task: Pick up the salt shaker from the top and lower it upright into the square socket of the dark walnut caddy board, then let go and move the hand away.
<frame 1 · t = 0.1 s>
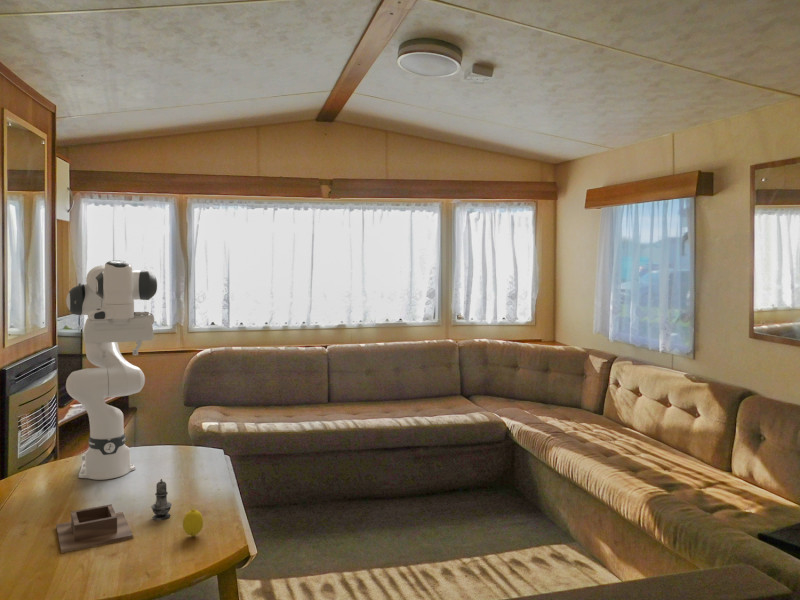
hand: (119, 355, 199), 48 cm above the table, tool pointing down, fingers open, 8 cm apart
caddy: (94, 532, 182), on the table
lemon: (193, 537, 181), on the table
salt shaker: (161, 517, 193), on the table
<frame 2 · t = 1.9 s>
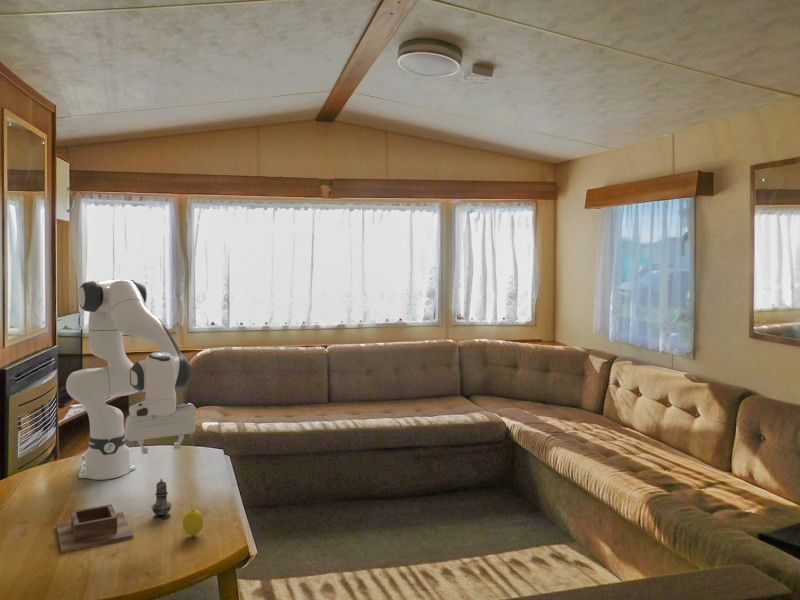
hand: (161, 450, 192), 21 cm above the table, tool pointing down, fingers open, 8 cm apart
nothing on the table moved.
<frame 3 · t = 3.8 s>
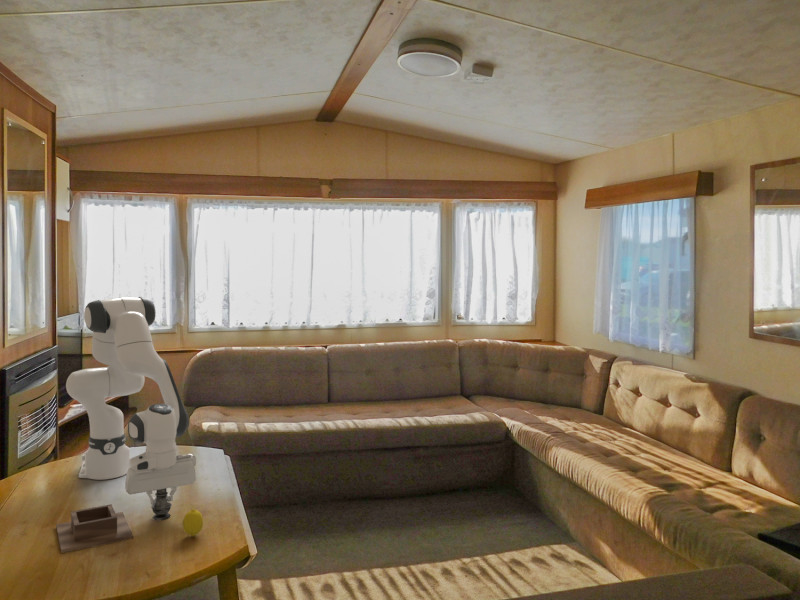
hand: (161, 502, 193), 5 cm above the table, tool pointing down, fingers closed on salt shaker, 3 cm apart
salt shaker: (161, 517, 193), on the table, touching gripper
everything else where it was.
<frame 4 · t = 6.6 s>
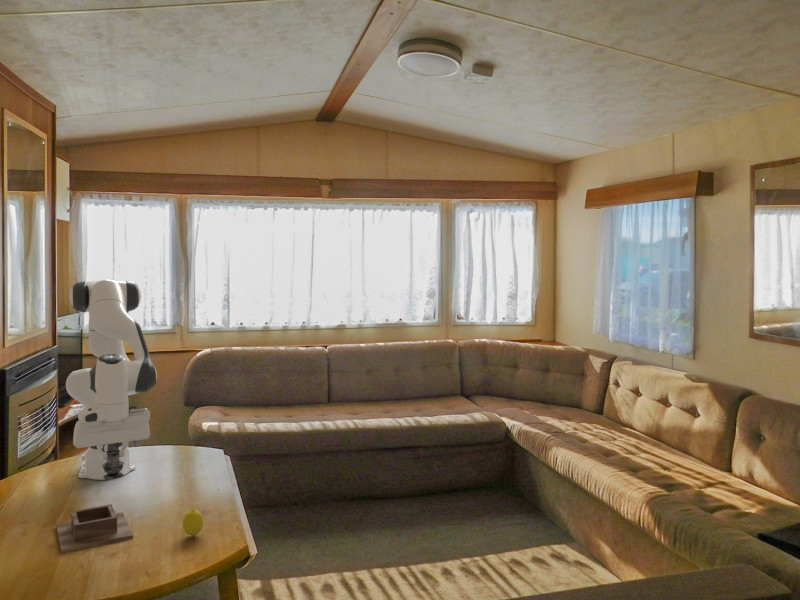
hand: (112, 457, 183), 21 cm above the table, tool pointing down, fingers closed on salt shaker, 3 cm apart
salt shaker: (113, 476, 183), point 16 cm above the table, touching gripper
everything else where it was.
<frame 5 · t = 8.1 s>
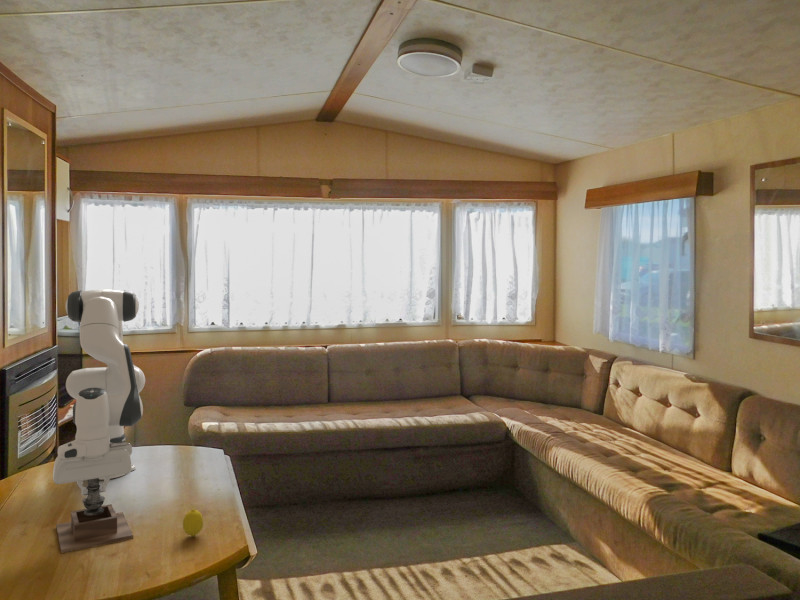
hand: (93, 493, 181), 12 cm above the table, tool pointing down, fingers closed on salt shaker, 3 cm apart
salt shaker: (93, 512, 181), point 6 cm above the table, touching gripper
everything else where it was.
when the fingers open (7 cm above the table, at t = 9.4 s): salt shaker stays where it is, resting on caddy.
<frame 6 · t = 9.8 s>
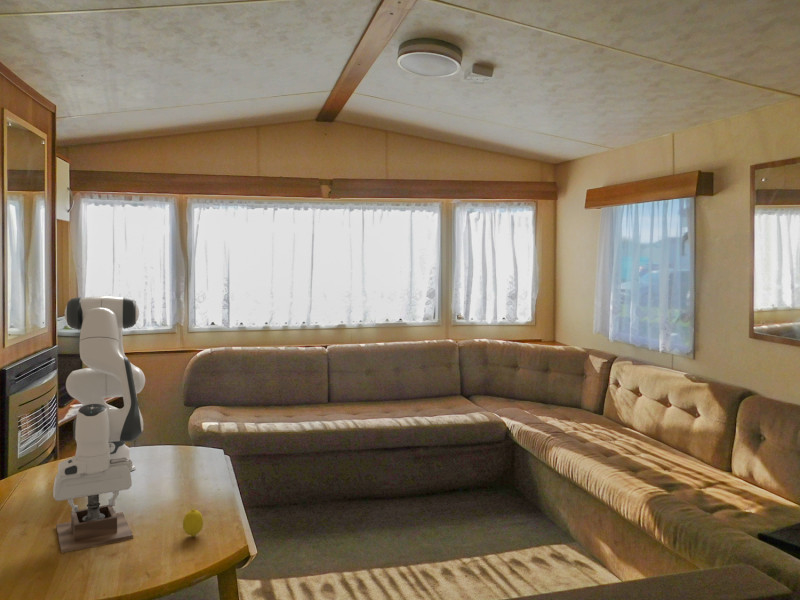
hand: (93, 509, 181), 7 cm above the table, tool pointing down, fingers open, 8 cm apart
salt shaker: (93, 530, 182), point 1 cm above the table, touching caddy
everything else where it was.
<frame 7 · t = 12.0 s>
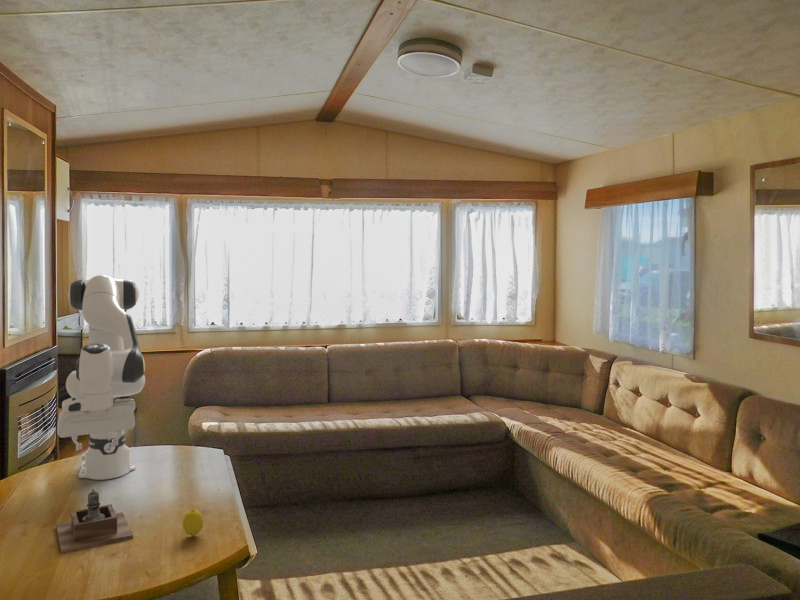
hand: (97, 447, 182), 24 cm above the table, tool pointing down, fingers open, 8 cm apart
nothing on the table moved.
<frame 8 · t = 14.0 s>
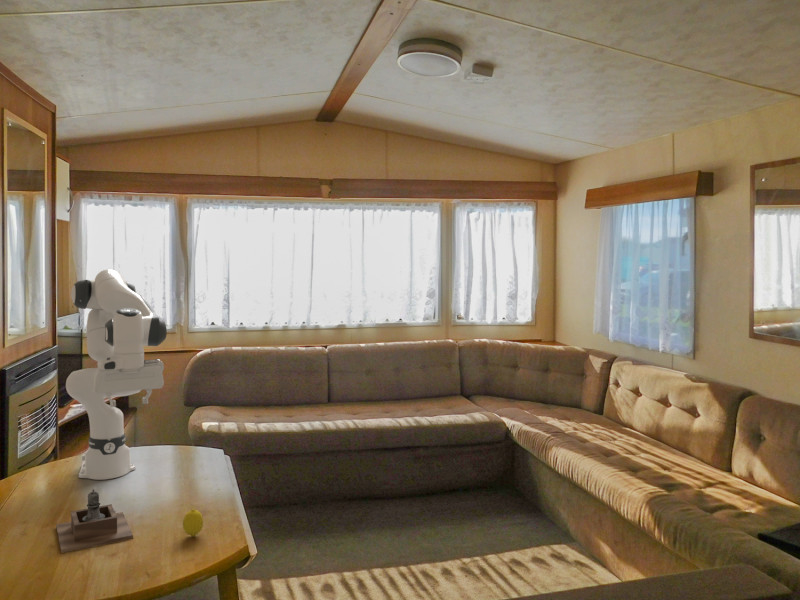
hand: (129, 404, 197), 33 cm above the table, tool pointing down, fingers open, 8 cm apart
nothing on the table moved.
at the end: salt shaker 0.0 cm off-centre on the caddy, point 0.8 cm above the caddy's base; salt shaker tilted 0°; the gripper is holding nothing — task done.
